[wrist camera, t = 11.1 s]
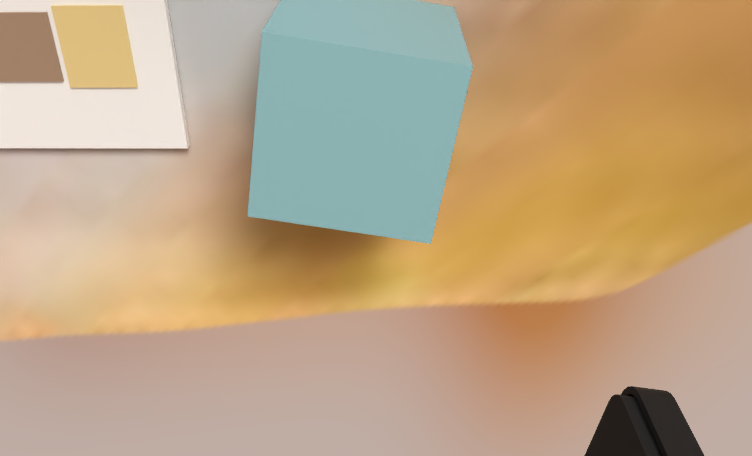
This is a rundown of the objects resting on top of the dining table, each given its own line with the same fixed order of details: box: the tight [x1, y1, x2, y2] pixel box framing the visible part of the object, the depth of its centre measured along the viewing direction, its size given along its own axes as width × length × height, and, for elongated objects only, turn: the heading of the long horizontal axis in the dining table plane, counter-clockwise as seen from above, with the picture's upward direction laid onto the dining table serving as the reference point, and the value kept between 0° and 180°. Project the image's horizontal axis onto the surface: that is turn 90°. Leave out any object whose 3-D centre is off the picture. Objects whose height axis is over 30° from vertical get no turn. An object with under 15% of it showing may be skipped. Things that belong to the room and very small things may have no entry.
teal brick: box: [248, 0, 473, 244], centre depth 20 cm, size 5×5×6 cm
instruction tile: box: [0, 0, 190, 148], centre depth 22 cm, size 10×7×1 cm
